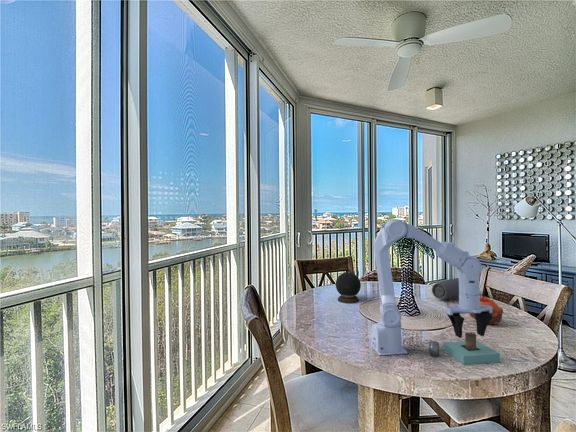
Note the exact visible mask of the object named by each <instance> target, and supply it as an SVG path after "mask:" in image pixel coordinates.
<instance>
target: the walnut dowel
mask: <svg viewBox="0 0 576 432" xmlns="http://www.w3.org/2000/svg"><path fill="white" fill-rule="evenodd" d="M464 337H465V338H464V341H465V349H466V350H468V351H476V340H477V333H475V332H469V331H467V332H465V334H464Z"/></svg>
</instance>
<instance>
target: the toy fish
mask: <svg viewBox="0 0 576 432" xmlns="http://www.w3.org/2000/svg"><path fill="white" fill-rule="evenodd" d="M480 305H489V306H491V307H492V313H489V314H491V315H492V319H491V320H490V322H489V323H488V325H495V324H496V323H497V324H498V323H500V322H501V321H502V318H503V314H504V308H503V307H499V305H498V304H497V303H495V301H494V300H493V299H490V298H488V297H487V296H486V295H481V296H480ZM468 314H469V316H470V317H471V318H473V319H475V321H476V317H475V314H474V313H468Z"/></svg>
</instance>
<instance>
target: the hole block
mask: <svg viewBox="0 0 576 432" xmlns="http://www.w3.org/2000/svg"><path fill="white" fill-rule="evenodd" d="M442 350H443V351H444V352H445V353H446V354H448V355H450V357H452V358H454V359H455V360H456V361H458V362H459V363H461V364H462V365H475V364H485V363H487V364H488V363H497V362H498V363H499V362H501V353H500V352H499V351H497V350H495V349H493V348H492V347H489V346H487V345H486V344H484V343H482V342H480V341H478V340H477V339H476V351H468V350H466V349H465V340H458V341H447V342H445V341H443V342H442Z"/></svg>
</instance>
